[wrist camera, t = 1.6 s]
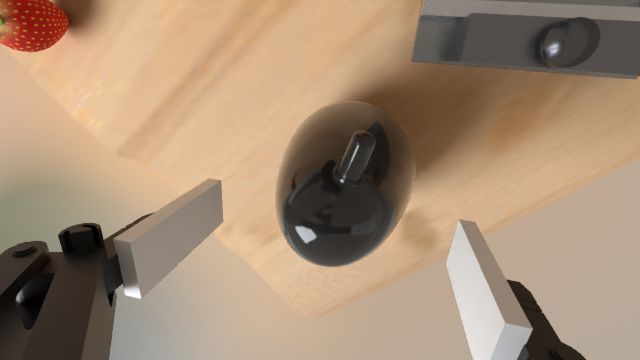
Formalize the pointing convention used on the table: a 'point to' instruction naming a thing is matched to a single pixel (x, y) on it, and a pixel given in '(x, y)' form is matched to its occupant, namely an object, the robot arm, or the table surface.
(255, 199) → the table surface
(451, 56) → the tray unit
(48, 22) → the fruit
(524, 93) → the table surface
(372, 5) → the table surface
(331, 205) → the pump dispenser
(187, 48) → the table surface
